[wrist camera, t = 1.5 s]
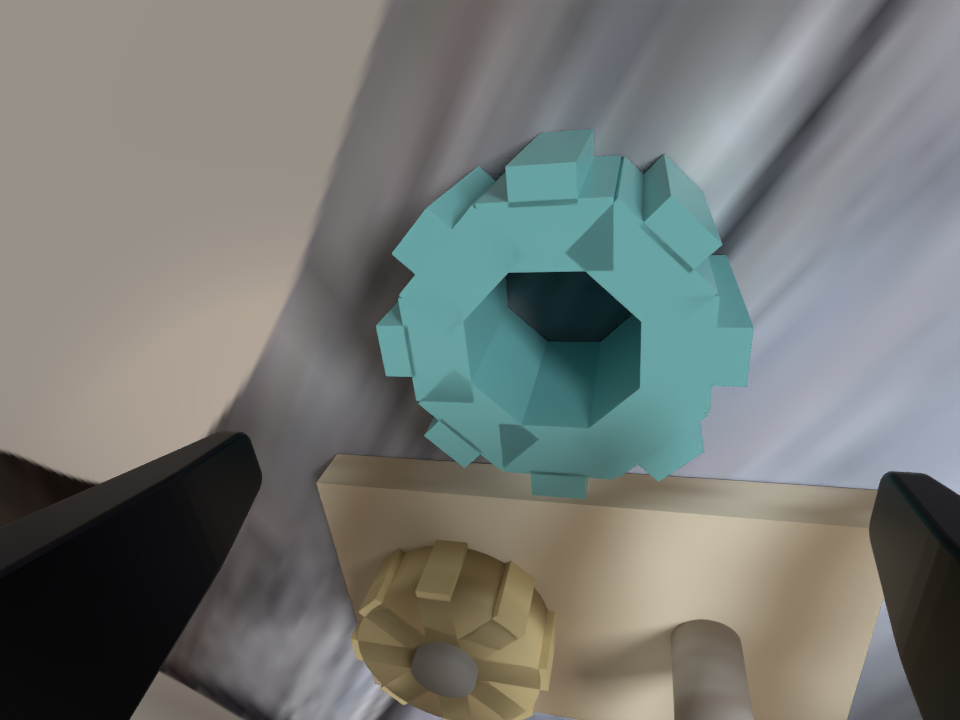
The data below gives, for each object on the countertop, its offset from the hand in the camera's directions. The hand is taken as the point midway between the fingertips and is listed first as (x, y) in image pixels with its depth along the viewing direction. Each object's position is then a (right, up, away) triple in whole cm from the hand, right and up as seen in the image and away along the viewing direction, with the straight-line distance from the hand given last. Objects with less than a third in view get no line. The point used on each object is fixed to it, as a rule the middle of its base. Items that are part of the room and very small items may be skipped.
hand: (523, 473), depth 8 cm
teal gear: (+2, +4, +6) cm, 8 cm away
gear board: (+3, -6, +11) cm, 13 cm away
